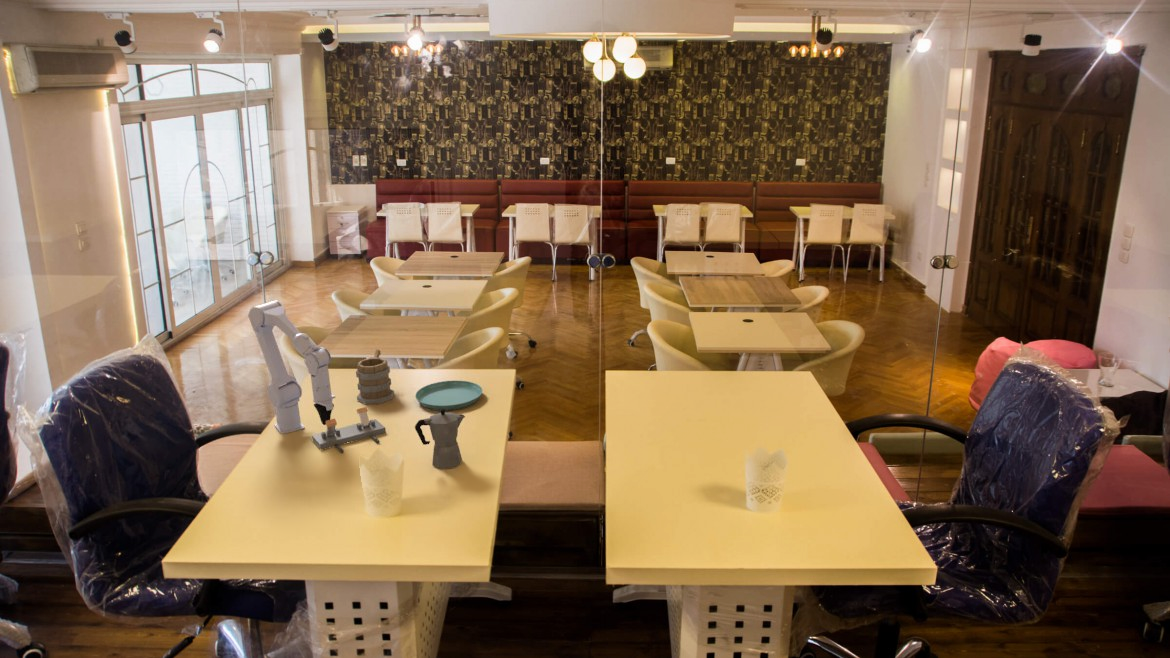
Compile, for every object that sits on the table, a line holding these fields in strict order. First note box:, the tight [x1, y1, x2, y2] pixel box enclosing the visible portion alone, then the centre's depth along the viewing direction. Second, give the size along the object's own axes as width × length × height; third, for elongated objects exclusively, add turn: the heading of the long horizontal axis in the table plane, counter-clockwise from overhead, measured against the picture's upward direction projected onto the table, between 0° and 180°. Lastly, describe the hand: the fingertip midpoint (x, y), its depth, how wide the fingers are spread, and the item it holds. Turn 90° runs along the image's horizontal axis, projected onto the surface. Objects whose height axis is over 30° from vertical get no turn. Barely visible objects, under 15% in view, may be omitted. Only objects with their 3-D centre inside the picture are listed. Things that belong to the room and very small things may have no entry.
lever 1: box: [325, 418, 338, 437], centre depth 293 cm, size 2×3×6 cm, turn 125°
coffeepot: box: [414, 409, 466, 470], centre depth 274 cm, size 15×9×18 cm, turn 110°
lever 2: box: [356, 406, 370, 428], centre depth 301 cm, size 2×3×6 cm, turn 121°
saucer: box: [414, 380, 483, 411], centre depth 327 cm, size 24×24×3 cm
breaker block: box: [311, 419, 387, 454], centre depth 295 cm, size 16×22×4 cm
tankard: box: [355, 349, 395, 405], centre depth 333 cm, size 20×13×15 cm, turn 179°
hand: (326, 423), depth 297 cm, fingers closed
